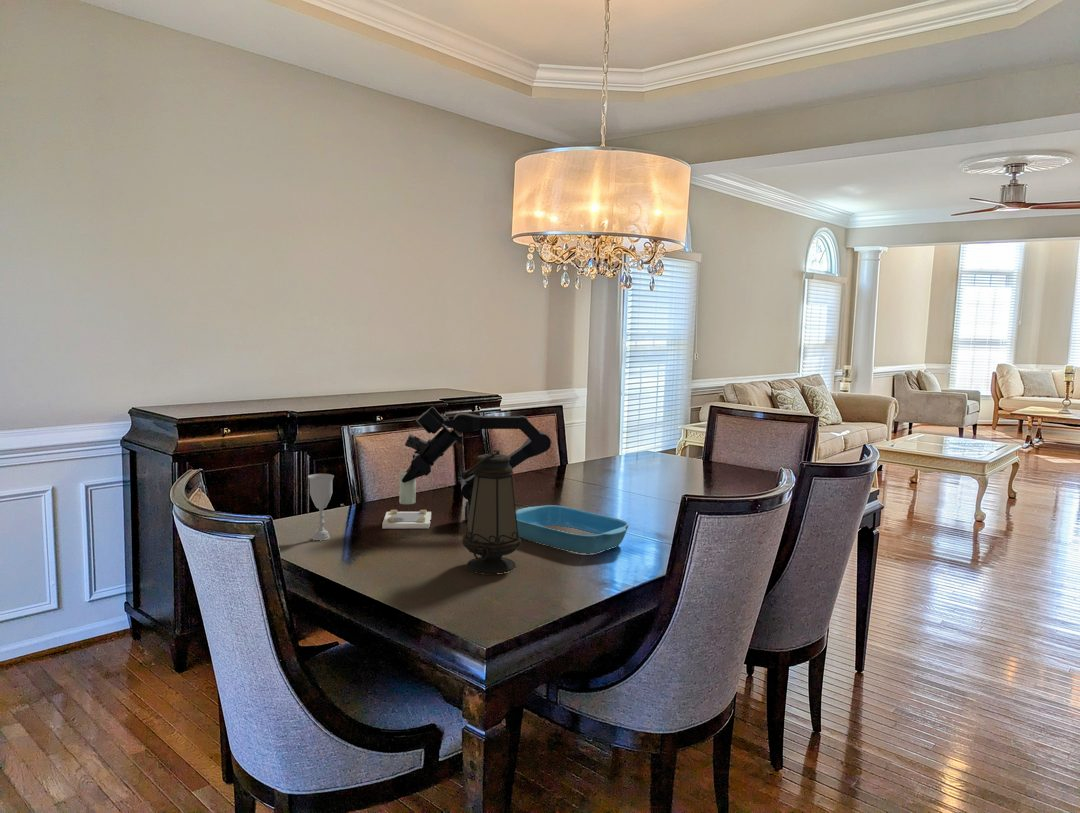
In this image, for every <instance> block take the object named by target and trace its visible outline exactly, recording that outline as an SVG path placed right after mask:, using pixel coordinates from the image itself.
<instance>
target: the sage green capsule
mask: <svg viewBox="0 0 1080 813" xmlns="http://www.w3.org/2000/svg"><path fill="white" fill-rule="evenodd" d="M406 473H407V472H406V471H405V472H404V471H403V472H399V475H398V477H399V481H398V482H399V487H398V488H399V489H398V490H399V495H398V497H399V500H398V502H399V504H401V505H415V504H416V500H417V493H416V492H417V488H416V487H417V484H416V483H417V478H415V479H413V480H410V481H408V482H405V483H403V482H402V479H403V477H404V476H405V475H406Z"/></svg>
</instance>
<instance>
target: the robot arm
mask: <svg viewBox="0 0 1080 813" xmlns="http://www.w3.org/2000/svg"><path fill="white" fill-rule="evenodd" d="M415 421H416V422H417V423H418V425H420V427H421V428H422V429H424V431H425V432H426V433H427V434H433V435H434V437H432V438H431V439H430V438H429V439H428V440H426V441H425V440H424V439H422V438H420V437H418V436H416V435H414V434H410V433H409V435H408V437H407V439H406V441H405V443H404V446H405V447H408V448H411V449H413V450H414V454H412V459H411V461H410V464H409V467H408V468H407V470H406V471H405V472H407V473H406V475H405V476H404V477H403V479H402V482H403V483H405V482H408V481H410V480H413V479H415V478H416V479H417V478H420V477H423V476H426V477H427V476H429V474H431V472H432V467H433V466H434V465H435V463H436V462H437V461H438V459H439V458H440V457H443V456H444V454H445V453H446V452H447V451H448V450H449V449H450V448H451V447H452V446H453V445H455V443H456V442H457V444H459V445H460V446H462V445H463V438H464V436H463V435H462V434H466V433H471V432H476V431H479V430H480V431H481V430H520V431H521V432H522V433H523V434H525V436H526V437H527V439H526V440H525V441H524V442H523V444H522V445H521V446H520V447H519V448H518V449H516V450H514V451H513V452H512V453H510V454H509V455H507V456H509V457H510V459H511V460H510V461H509V465H510V466H511V467H512V469H514V468H516V467H517V466H519V465H520V464H522V463H524V462H525V461H526V460H527V459H530V458H534V457H536V456H539V455H541V454H543V453H546V452H547V451H548V450H549V449H550V448H551V445H552V440H551V438H550V437H549V435H547V433H545V432H544V431H542V430H541V431H540V430H538V429H537V428H536V427H535V426H534V425H533V424H532V423H531V422H530V421H529V419H528V418H527V417H526V416H525V415H518V416H517V415H515V416H514V415H513V416H511V415H508V416H507V415H506V416H505V415H504V416H503V415H501V416H500V415H499V416H497V415H496V416H494V415H493V416H491V415H489V416H488V415H487V416H486V415H478V414H474V413H468V412H463V411H462V412H461V411H460V412H457V413H455V415H454V416H446V417H443V416H442V415H441V414H440V412H438V411H437V409H436V408H435V406H430V408H429V409H427V410H426V411H424V412H422V414H421V415H419V417H418V419H416V420H415ZM449 428H451V429H449ZM438 431H439V432H438ZM435 434H436V435H435ZM474 476H475V474H474V475H473V476H471V477H469V478H467V479H463V481H462V483H461V486H460V489H461V495H462V497H463V498H464V499H465V500H467V501H465V506H464V519H462V523H465V522H466V523H465V524H467V521H468V515H469V508H470V502H471V496H472V489H473V483H474Z"/></svg>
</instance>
